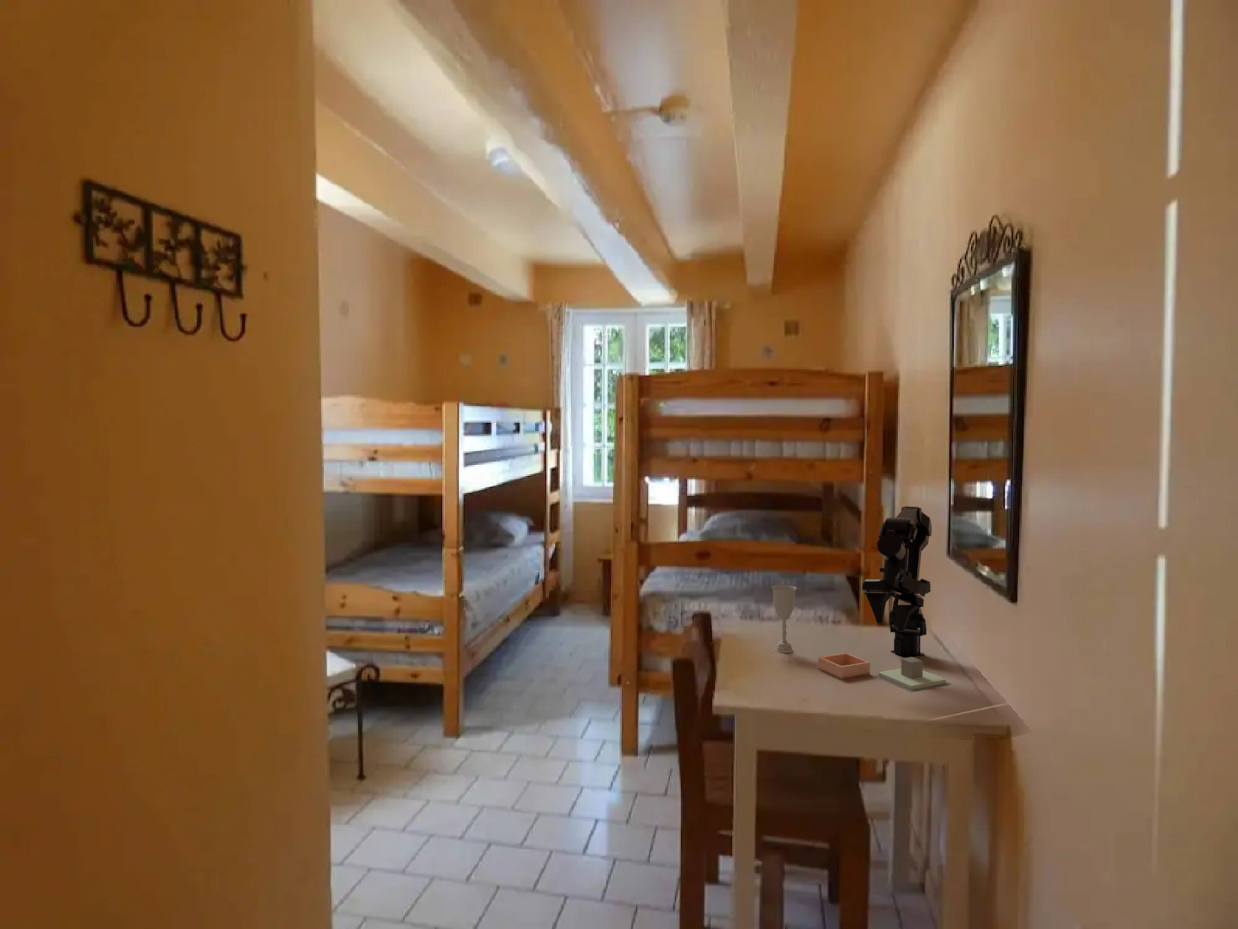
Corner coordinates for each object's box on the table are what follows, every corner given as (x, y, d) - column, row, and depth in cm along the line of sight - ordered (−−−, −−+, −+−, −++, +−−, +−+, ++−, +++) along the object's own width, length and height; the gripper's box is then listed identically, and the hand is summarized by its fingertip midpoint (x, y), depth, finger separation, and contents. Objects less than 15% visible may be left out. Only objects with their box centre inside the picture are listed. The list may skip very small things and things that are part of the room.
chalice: (766, 648, 217) (766, 586, 216) (786, 645, 220) (786, 583, 219) (781, 655, 210) (781, 591, 209) (802, 652, 213) (802, 588, 212)
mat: (912, 670, 196) (912, 668, 196) (952, 685, 184) (952, 684, 184) (872, 677, 191) (872, 675, 191) (911, 693, 179) (911, 692, 179)
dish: (846, 665, 200) (846, 652, 200) (869, 676, 192) (870, 662, 192) (818, 670, 197) (818, 657, 197) (841, 681, 189) (841, 667, 188)
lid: (912, 670, 195) (912, 651, 195) (946, 683, 185) (946, 663, 185) (878, 676, 191) (878, 656, 190) (911, 690, 181) (911, 669, 180)
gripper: (903, 556, 181) (898, 621, 177) (945, 575, 192) (941, 637, 187) (863, 557, 190) (857, 619, 185) (905, 575, 200) (900, 634, 196)
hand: (890, 627), depth 188 cm, fingers open, 9 cm apart
